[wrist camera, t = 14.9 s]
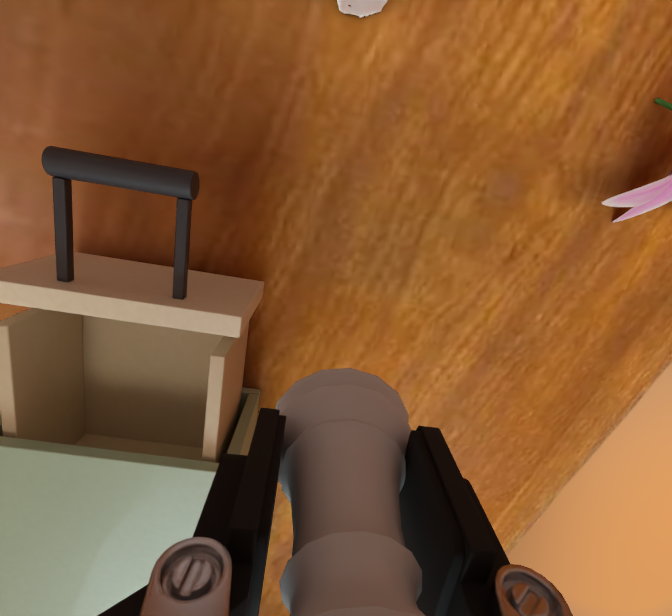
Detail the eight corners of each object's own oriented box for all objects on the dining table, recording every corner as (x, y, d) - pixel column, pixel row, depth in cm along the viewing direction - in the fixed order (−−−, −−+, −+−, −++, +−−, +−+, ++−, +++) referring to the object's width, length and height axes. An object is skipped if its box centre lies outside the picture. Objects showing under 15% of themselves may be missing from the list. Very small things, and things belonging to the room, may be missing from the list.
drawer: (64, 146, 25) (-49, 129, 17) (276, 183, 26) (255, 182, 18) (74, 431, 31) (-6, 509, 23) (244, 452, 32) (219, 533, 24)
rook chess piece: (361, 495, 14) (409, 875, 6) (248, 443, 13) (145, 810, 5) (432, 399, 13) (596, 719, 5) (314, 336, 12) (299, 607, 4)
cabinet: (71, 363, 30) (-40, 441, 21) (260, 389, 31) (233, 474, 22) (76, 521, 35) (-13, 642, 25) (241, 539, 36) (212, 661, 26)
